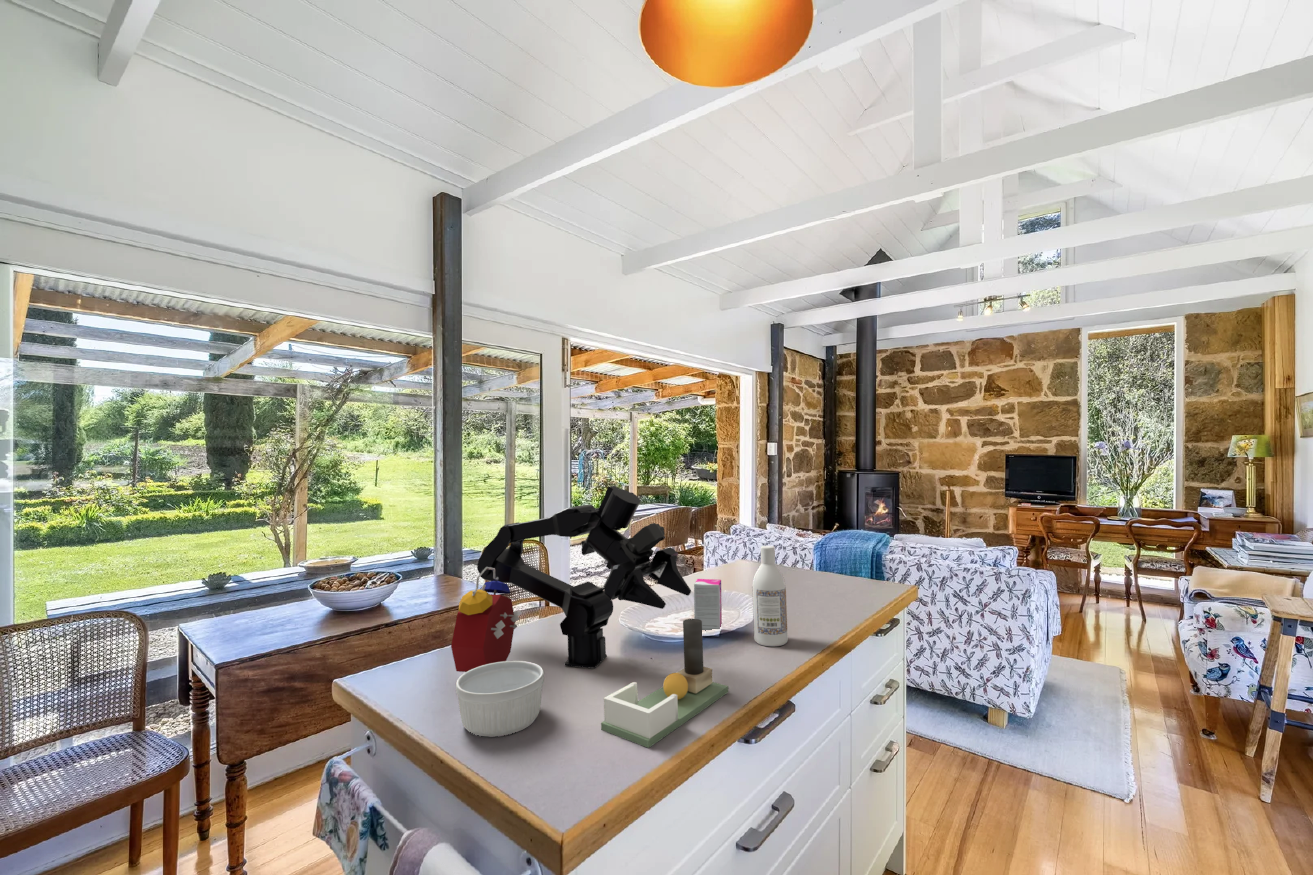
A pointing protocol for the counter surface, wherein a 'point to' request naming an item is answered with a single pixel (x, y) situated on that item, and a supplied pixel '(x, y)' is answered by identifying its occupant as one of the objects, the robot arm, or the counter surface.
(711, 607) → the supplement box
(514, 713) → the ramekin
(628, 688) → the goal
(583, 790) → the counter surface
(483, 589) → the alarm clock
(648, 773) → the counter surface
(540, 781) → the counter surface
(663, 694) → the board
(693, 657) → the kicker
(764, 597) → the bath foam
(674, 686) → the ball
